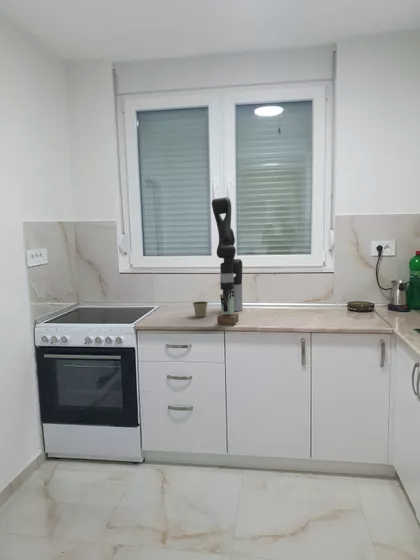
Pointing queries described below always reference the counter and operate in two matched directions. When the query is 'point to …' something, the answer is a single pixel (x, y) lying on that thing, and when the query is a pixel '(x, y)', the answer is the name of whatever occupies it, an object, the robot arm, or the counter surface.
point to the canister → (229, 305)
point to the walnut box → (227, 319)
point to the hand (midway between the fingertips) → (227, 310)
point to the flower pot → (200, 308)
